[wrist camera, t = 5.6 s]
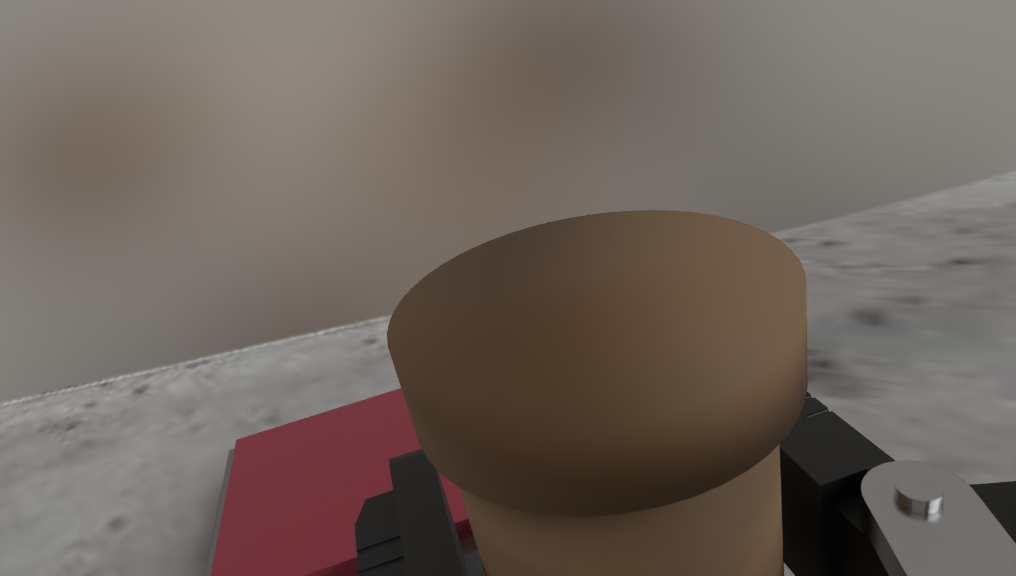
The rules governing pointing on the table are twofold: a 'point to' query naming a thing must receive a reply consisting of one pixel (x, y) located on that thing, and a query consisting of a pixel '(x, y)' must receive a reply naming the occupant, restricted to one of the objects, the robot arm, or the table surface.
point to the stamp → (612, 392)
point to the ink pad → (315, 492)
